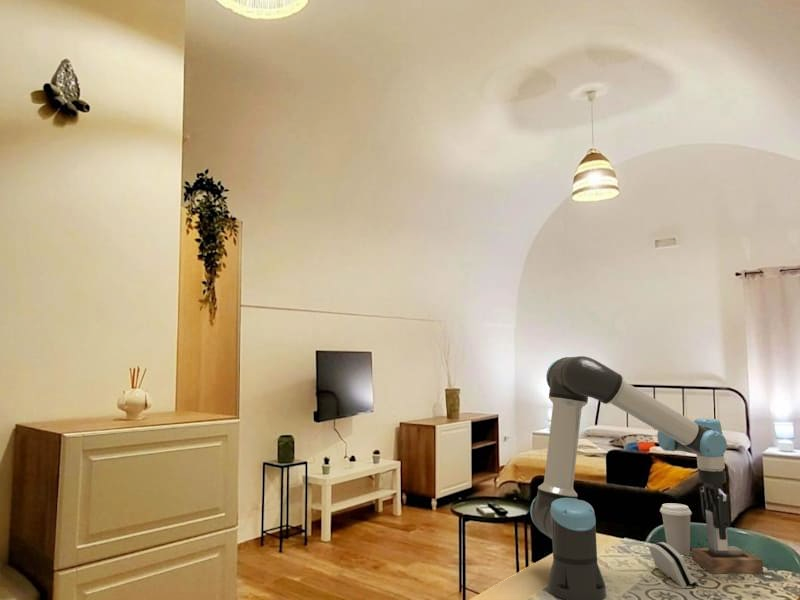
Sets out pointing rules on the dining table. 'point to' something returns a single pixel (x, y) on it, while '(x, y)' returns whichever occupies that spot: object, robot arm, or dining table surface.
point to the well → (727, 562)
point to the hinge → (671, 563)
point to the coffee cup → (677, 526)
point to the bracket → (712, 541)
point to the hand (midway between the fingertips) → (718, 547)
